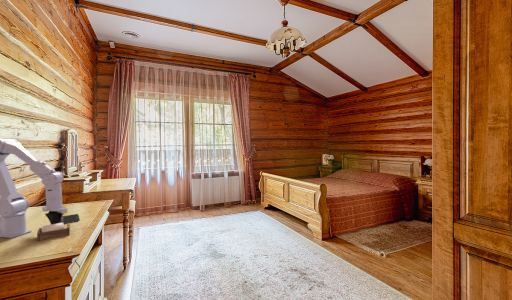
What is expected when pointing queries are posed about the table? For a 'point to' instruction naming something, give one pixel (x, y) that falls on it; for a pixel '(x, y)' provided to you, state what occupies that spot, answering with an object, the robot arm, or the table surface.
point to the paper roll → (52, 227)
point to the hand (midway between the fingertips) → (55, 227)
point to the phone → (70, 219)
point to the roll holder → (53, 233)
